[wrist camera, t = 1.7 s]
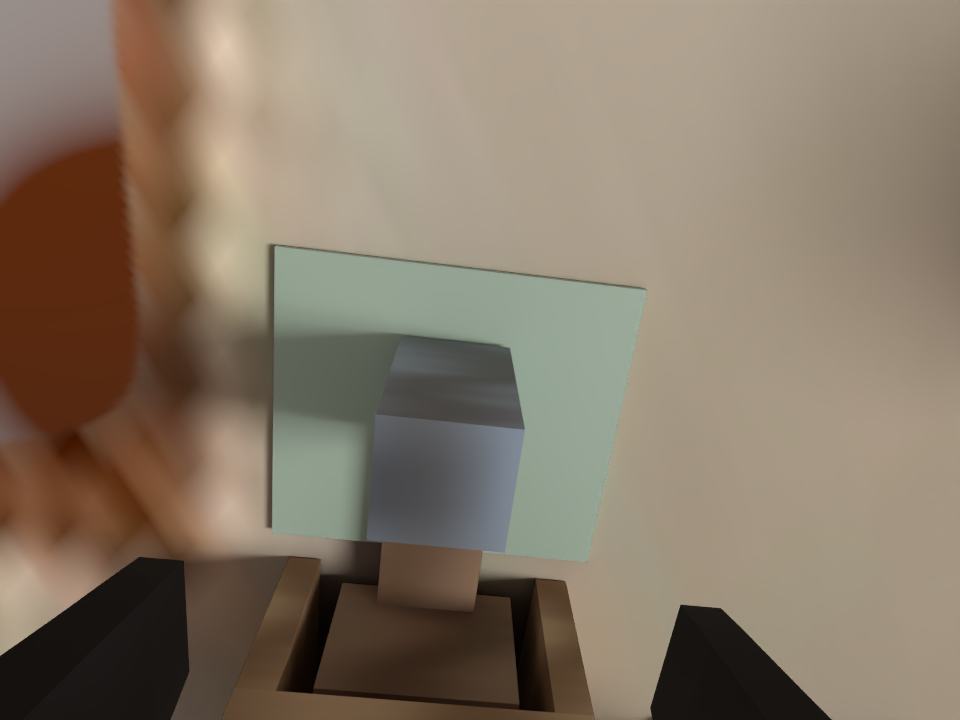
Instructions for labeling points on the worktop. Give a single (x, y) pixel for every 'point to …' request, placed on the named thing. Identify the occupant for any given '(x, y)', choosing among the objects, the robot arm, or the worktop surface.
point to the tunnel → (306, 716)
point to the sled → (435, 535)
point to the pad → (452, 317)
